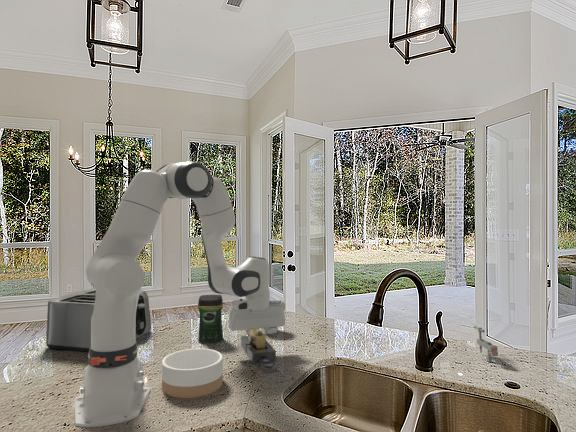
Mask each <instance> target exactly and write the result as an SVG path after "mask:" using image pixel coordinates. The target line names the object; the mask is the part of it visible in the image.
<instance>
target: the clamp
mask: <svg viewBox="0 0 576 432" xmlns="http://www.w3.org/2000/svg"><path fill="white" fill-rule="evenodd" d="M473 328H474V329H476V330H477V332H478V338H477V339H476V344H477V345H479V353H481V354H482V353H483V348H484V349H486V350H487V354H486V359H487V362H491V363H492V362H493V357H498V356H499V351H498V346H497V345H495V344H493V343H492V342H490V341H487V340H485V339H483V338H482V333H483V334H484V333H485V329H483V328H482V327H477V325H474V326H473Z"/></svg>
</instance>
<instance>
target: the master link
mask: <svg viewBox="0 0 576 432" xmlns="http://www.w3.org/2000/svg"><path fill="white" fill-rule="evenodd" d="M249 334H250V335H253V337H254V339H253V340H254V341H252V342H250V343H251V344H252V345H253V347H254V348H255V349H256V350H263V349H265V335H264V334H263V333H262V331H261V328H260V329H251V332H249Z"/></svg>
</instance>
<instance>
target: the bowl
mask: <svg viewBox="0 0 576 432" xmlns="http://www.w3.org/2000/svg"><path fill="white" fill-rule="evenodd" d="M223 358H224V357H223V354H222V353H221V352H219V351H218V350H215V349H209V348H204V347H203V348H202V347H200V348H198V347H197V348H187V349H183V350H181V349H180V350H177V351H174V352H172V353H170V354H167V355H166V356H165V357H164V358H163V359H162V361H161V390H162V392H163V393H165V395H168V396H170V397H173V398H179V399H193V398H200V397H203V396H208V395H210V394H213V393H215V392H217V391H218V390H219V389H221V388H222V386H223V383H224V382H223V381H224V379H223V374H224V371H223V369H224V367H223V366H224V364H223V363H224V361H223V360H224V359H223Z"/></svg>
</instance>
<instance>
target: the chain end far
mask: <svg viewBox="0 0 576 432" xmlns="http://www.w3.org/2000/svg"><path fill="white" fill-rule="evenodd" d="M248 337H249V336H248V335H247V333H246V334H244V335H241V336H240V346H241V348H242V349H243V351H244V353H245V354H247V345H252V344H251V343H250V342H249V340H248ZM265 343H269V342H268V340H267V339H266V340H265ZM252 346H253V345H252ZM253 348H254V347H253ZM254 349H255V348H254ZM255 350H256V349H255Z"/></svg>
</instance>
